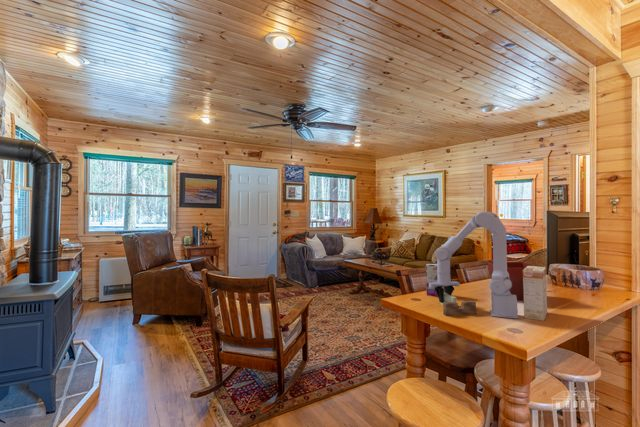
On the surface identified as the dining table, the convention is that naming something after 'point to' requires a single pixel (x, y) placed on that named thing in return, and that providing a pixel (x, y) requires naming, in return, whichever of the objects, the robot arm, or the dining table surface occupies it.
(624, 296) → the dining table surface
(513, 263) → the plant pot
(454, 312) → the base plate
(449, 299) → the sage plate
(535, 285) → the coffeecake box
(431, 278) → the candy bar box
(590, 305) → the dining table surface
